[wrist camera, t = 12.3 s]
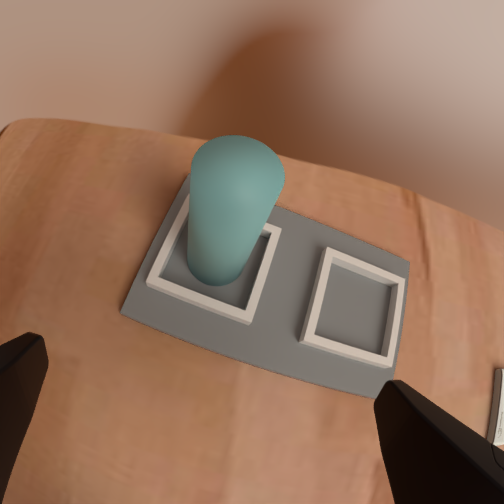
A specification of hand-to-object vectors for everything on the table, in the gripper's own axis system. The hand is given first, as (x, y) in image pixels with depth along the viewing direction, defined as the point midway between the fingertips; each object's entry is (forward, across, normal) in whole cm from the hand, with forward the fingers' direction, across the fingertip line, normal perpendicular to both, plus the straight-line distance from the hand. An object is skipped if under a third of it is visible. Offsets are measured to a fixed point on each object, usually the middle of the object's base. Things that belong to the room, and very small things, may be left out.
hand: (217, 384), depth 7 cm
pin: (+15, 0, +3) cm, 16 cm away
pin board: (+15, -5, +4) cm, 16 cm away
